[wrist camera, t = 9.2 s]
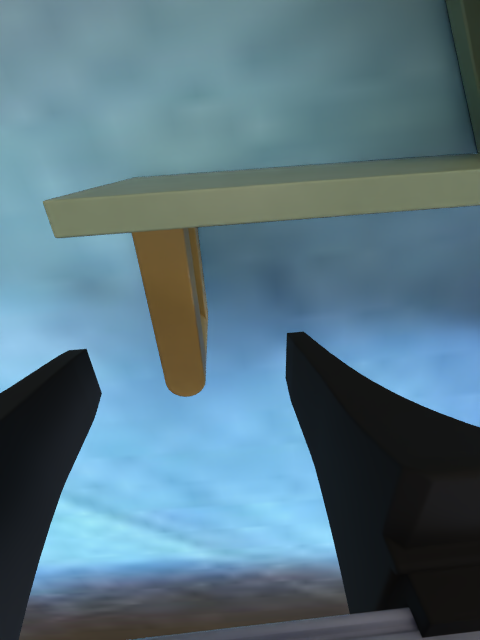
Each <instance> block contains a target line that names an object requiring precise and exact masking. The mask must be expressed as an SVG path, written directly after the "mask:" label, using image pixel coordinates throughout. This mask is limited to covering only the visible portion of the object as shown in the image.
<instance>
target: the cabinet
mask: <svg viewBox="0 0 480 640" xmlns="http://www.w3.org/2000/svg"><path fill="white" fill-rule="evenodd" d="M446 5H447V10H448V14H449V19H450V24H451V28H452V33H453V38H454V43H455V47H456V52H457V57H458V61H459V66H460V71H461V75H462V80H463V85H464V90H465V94H466V99H467V104H468V108H469V113H470V118H471V122H472V127H473V132H474V137H475V141H476V146H477V151H478V153H480V0H446Z"/></svg>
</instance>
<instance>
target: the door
mask: <svg viewBox="0 0 480 640" xmlns="http://www.w3.org/2000/svg"><path fill="white" fill-rule="evenodd" d="M43 204H44V207H45V210H46V213H47V216H48V219H49V222H50V225H51V227H52V230H53V233H54V236H55V238H68V237H80V236H93V235H106V234H119V233H132V236H133V241H134V245H135V250H136V254H137V258H138V263H139V267H140V272H141V276H142V280H143V285H144V289H145V294H146V298H147V303H148V307H149V311H150V316H151V320H152V325H153V329H154V333H155V338H156V342H157V347H158V351H159V356H160V360H161V364H162V369H163V373H164V378H165V382H166V385H167V387H168V389H169V390H170V391H171V392H172V393H174V394H176V395H179V396H184V397H187V396H193V395H196V394H197V393H199V392H200V391H201V390H202V389H203V387H204V386H205V381H206V355H207V329H208V308H207V300H206V291H205V283H204V275H203V267H202V259H201V251H200V243H199V235H198V227H208V226H221V225H234V224H247V223H260V222H273V221H285V220H298V219H311V218H324V217H337V216H349V215H362V214H375V213H388V212H401V211H413V210H426V209H439V208H452V207H465V206H477V205H480V153H478V154H456V155H442V156H428V157H414V158H400V159H386V160H372V161H358V162H344V163H330V164H316V165H302V166H288V167H274V168H260V169H246V170H232V171H218V172H204V173H190V174H176V175H162V176H148V177H134V178H130V179H126V180H122V181H118V182H115V183H111V184H107V185H103V186H99V187H95V188H91V189H87V190H83V191H79V192H76V193H72V194H68V195H64V196H60V197H56V198H52V199H48V200H45V201H43Z"/></svg>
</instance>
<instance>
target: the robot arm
mask: <svg viewBox="0 0 480 640" xmlns="http://www.w3.org/2000/svg"><path fill="white" fill-rule="evenodd" d="M286 381H287V386H288V390H289V395H290V399H291V402H292V405H293V408H294V411H295V413H296V416H297V419H298V421H299V424H300V427H301V430H302V432H303V435H304V438H305V440H306V443H307V446H308V448H309V451H310V454H311V456H312V460H313V463H314V466H315V469H316V473H317V477H318V480H319V484H320V488H321V492H322V496H323V499H324V503H325V508H326V512H327V516H328V520H329V524H330V528H331V532H332V536H333V540H334V545H335V549H336V553H337V558H338V562H339V566H340V571H341V575H342V580H343V584H344V589H345V593H346V598H347V603H348V607H349V612H350V614H348V615H339V616H331V617H322V618H313V619H305V620H296V621H288V622H279V623H270V624H262V625H253V626H244V627H236V628H227V629H218V630H210V631H201V632H193V633H184V634H175V635H167V636H158V637H149V638H141V639H132V640H480V427H477V426H474V425H471V424H468V423H465V422H462V421H459V420H457V419H454V418H451V417H449V416H446V415H443V414H441V413H438V412H436V411H433V410H431V409H428V408H426V407H424V406H421V405H419V404H417V403H415V402H413V401H410V400H408V399H406V398H404V397H402V396H400V395H397V394H395V393H393V392H391V391H390V390H388V389H386V388H384V387H382V386H380V385H379V384H377V383H375V382H373V381H371V380H370V379H368V378H366V377H365V376H363V375H361V374H360V373H358V372H357V371H355V370H354V369H352V368H351V367H349V366H348V365H346V364H345V363H343V362H342V361H341V360H339V359H338V358H337V357H335V356H334V355H332V354H331V353H330V352H329V351H327V350H326V349H325V348H323V347H322V346H321V345H320V344H318V343H317V342H316V341H315V340H313V339H312V338H311V337H310V336H308V335H307V334H306V333H304V332H295V333H287V348H286ZM101 394H102V393H101V390H100V387H99V384H98V381H97V378H96V375H95V372H94V370H93V367H92V364H91V361H90V358H89V355H88V352H87V349H79V350H69V351H67V352H65V353H63V354H61V355H59V356H58V357H56V358H55V359H53V360H51V361H50V362H48V363H47V364H45V365H44V366H42V367H41V368H39V369H38V370H36V371H34V372H33V373H31V374H30V375H28V376H27V377H25V378H24V379H22V380H21V381H19V382H18V383H16V384H15V385H13V386H11V387H10V388H8V389H6V390H5V391H3V392H2V393H0V640H19V636H20V631H21V627H22V623H23V619H24V615H25V611H26V607H27V603H28V599H29V595H30V592H31V588H32V585H33V581H34V578H35V574H36V570H37V567H38V563H39V560H40V556H41V553H42V550H43V547H44V543H45V540H46V537H47V534H48V531H49V527H50V524H51V521H52V518H53V515H54V512H55V509H56V507H57V504H58V501H59V498H60V495H61V492H62V490H63V487H64V485H65V482H66V480H67V478H68V475H69V473H70V471H71V469H72V467H73V464H74V462H75V460H76V458H77V456H78V454H79V451H80V449H81V447H82V445H83V443H84V441H85V438H86V436H87V434H88V432H89V430H90V427H91V425H92V423H93V420H94V418H95V415H96V412H97V408H98V405H99V401H100V397H101Z"/></svg>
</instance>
